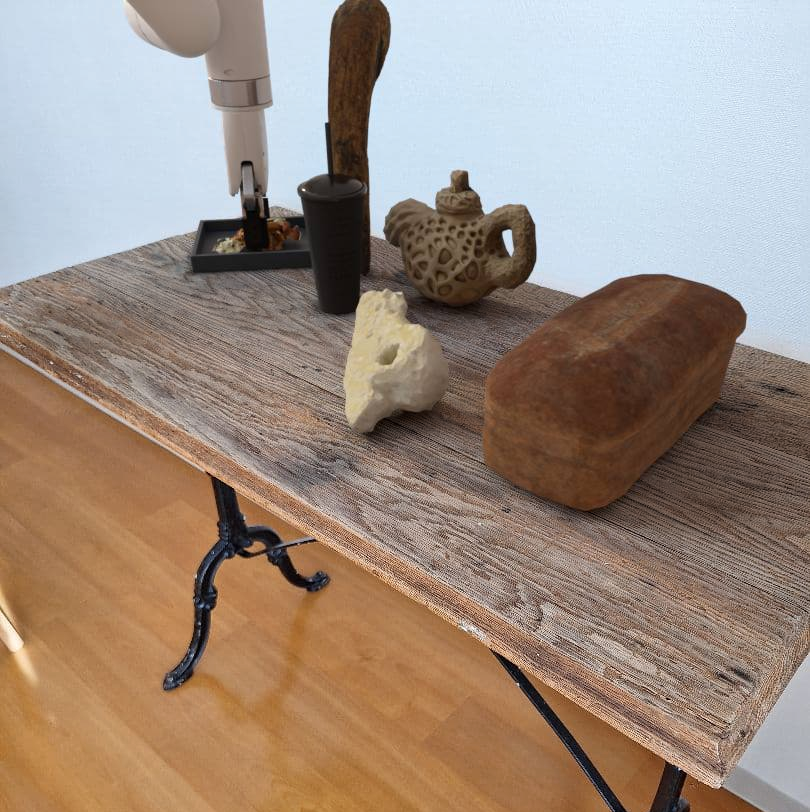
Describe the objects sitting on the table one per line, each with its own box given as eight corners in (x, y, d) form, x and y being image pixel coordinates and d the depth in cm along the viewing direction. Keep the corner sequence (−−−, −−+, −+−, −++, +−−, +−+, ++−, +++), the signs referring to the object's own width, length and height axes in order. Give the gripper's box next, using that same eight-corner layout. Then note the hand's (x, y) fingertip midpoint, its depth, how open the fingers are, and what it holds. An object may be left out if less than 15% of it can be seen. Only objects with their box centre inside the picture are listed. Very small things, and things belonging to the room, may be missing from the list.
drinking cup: (358, 322, 94) (349, 134, 81) (297, 314, 96) (279, 129, 83) (379, 296, 99) (374, 116, 87) (321, 289, 101) (307, 112, 88)
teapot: (359, 294, 100) (353, 164, 90) (419, 267, 107) (419, 143, 97) (500, 344, 89) (511, 203, 80) (557, 310, 96) (573, 176, 86)
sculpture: (396, 262, 108) (392, -8, 89) (389, 284, 102) (383, 0, 83) (345, 261, 109) (330, -9, 89) (335, 282, 103) (317, 0, 84)
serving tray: (193, 272, 106) (190, 256, 105) (202, 234, 117) (199, 220, 115) (324, 266, 107) (323, 250, 106) (321, 229, 118) (320, 214, 117)
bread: (740, 398, 80) (775, 277, 72) (600, 541, 63) (627, 403, 55) (613, 358, 86) (632, 243, 79) (456, 477, 70) (461, 346, 62)
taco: (206, 250, 110) (201, 223, 108) (280, 230, 116) (278, 204, 114) (232, 265, 106) (228, 237, 104) (308, 244, 112) (306, 217, 110)
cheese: (433, 470, 74) (506, 328, 75) (378, 432, 69) (456, 281, 71) (343, 446, 86) (407, 323, 87) (291, 411, 81) (360, 282, 82)
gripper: (215, 79, 106) (234, 218, 117) (204, 109, 93) (227, 262, 104) (273, 77, 107) (286, 216, 118) (270, 107, 93) (285, 260, 105)
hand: (258, 236), depth 111 cm, fingers closed on taco, 7 cm apart
